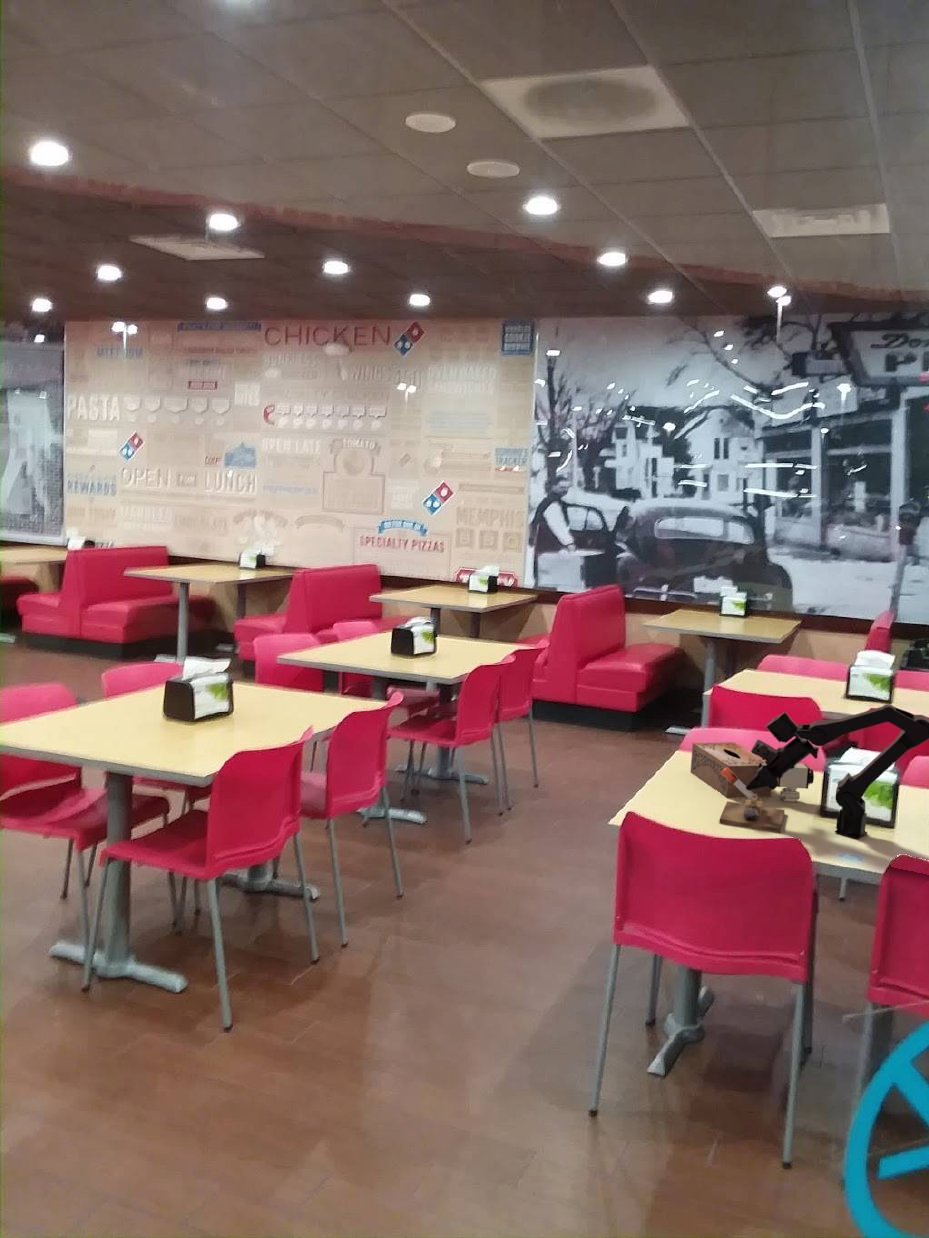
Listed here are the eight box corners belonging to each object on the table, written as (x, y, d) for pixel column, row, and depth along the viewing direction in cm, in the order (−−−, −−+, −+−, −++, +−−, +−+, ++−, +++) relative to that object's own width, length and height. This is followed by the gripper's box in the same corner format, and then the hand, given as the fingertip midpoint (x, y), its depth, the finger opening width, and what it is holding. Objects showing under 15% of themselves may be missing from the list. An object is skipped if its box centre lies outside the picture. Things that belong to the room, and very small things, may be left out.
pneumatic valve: (811, 804, 302) (815, 764, 300) (771, 801, 303) (774, 762, 301) (806, 798, 308) (810, 759, 306) (766, 796, 308) (770, 757, 307)
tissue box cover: (690, 773, 330) (692, 742, 329) (731, 772, 333) (734, 742, 332) (726, 798, 305) (729, 766, 304) (770, 797, 308) (773, 765, 307)
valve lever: (760, 796, 287) (727, 765, 289) (759, 798, 285) (726, 768, 287) (753, 802, 288) (721, 771, 290) (752, 805, 286) (719, 774, 288)
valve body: (762, 810, 292) (764, 791, 291) (758, 823, 281) (760, 803, 280) (746, 808, 294) (748, 788, 293) (742, 821, 283) (743, 800, 282)
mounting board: (784, 813, 292) (784, 809, 292) (779, 832, 277) (780, 828, 277) (726, 805, 298) (727, 801, 298) (719, 822, 282) (719, 818, 282)
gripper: (773, 725, 291) (731, 758, 297) (767, 740, 274) (723, 775, 279) (800, 755, 290) (757, 788, 295) (796, 772, 272) (751, 806, 278)
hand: (746, 788), depth 287 cm, fingers closed, pressing on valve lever
